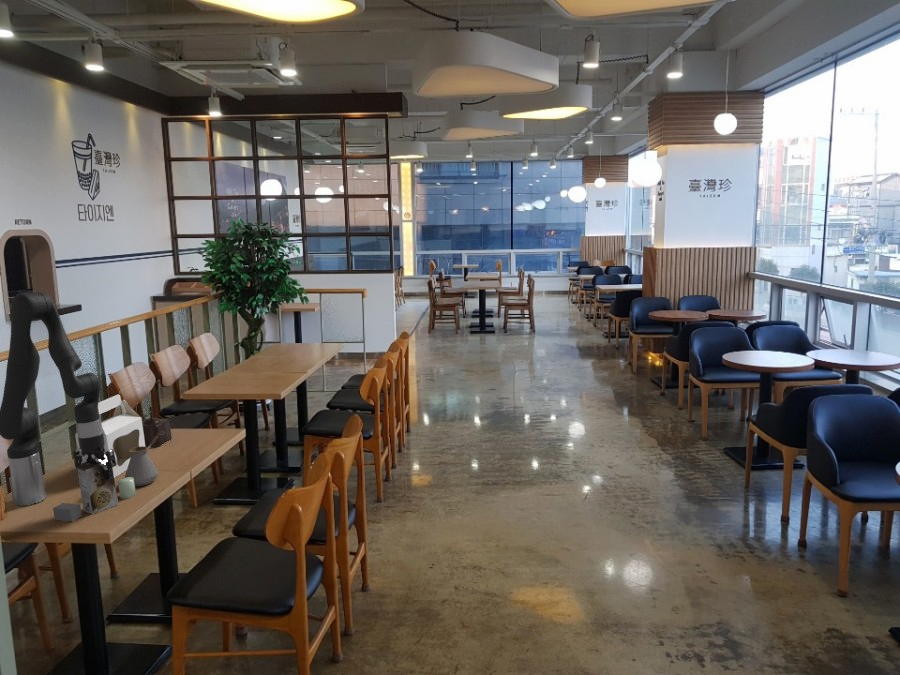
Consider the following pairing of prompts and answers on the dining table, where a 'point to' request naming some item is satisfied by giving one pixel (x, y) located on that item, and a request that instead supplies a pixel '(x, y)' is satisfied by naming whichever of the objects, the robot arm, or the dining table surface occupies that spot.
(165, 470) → the dining table surface
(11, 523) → the dining table surface
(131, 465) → the coffee pot
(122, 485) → the sage cylinder
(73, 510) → the charcoal block
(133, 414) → the gable box
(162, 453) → the dining table surface
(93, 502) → the coffee box
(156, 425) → the manual coffee grinder
